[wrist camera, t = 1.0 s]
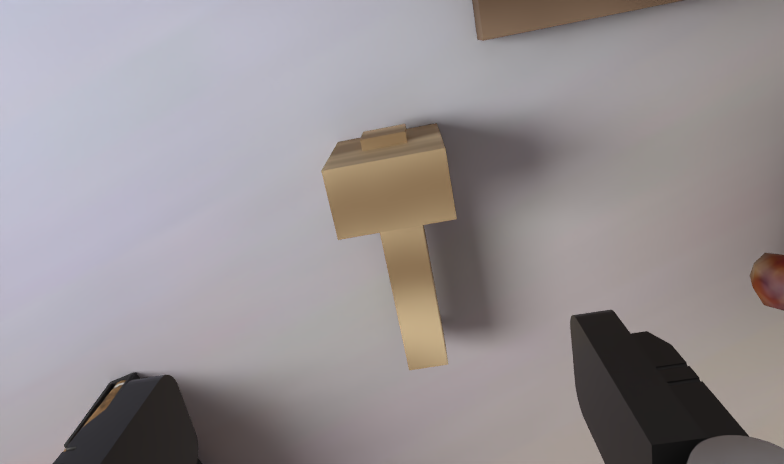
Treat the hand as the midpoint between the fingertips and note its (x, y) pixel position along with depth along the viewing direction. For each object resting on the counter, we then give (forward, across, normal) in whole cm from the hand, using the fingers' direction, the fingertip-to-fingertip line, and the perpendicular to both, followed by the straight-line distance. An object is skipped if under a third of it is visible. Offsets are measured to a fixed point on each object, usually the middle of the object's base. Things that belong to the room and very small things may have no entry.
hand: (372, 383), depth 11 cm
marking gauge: (+18, 0, +4) cm, 19 cm away
